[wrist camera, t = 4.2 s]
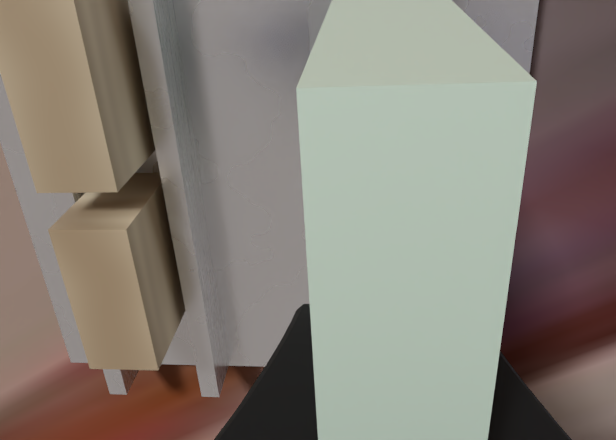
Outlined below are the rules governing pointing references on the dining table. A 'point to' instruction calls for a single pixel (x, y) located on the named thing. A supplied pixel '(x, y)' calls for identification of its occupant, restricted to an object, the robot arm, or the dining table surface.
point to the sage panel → (409, 216)
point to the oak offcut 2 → (121, 274)
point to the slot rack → (225, 168)
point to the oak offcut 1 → (75, 92)
